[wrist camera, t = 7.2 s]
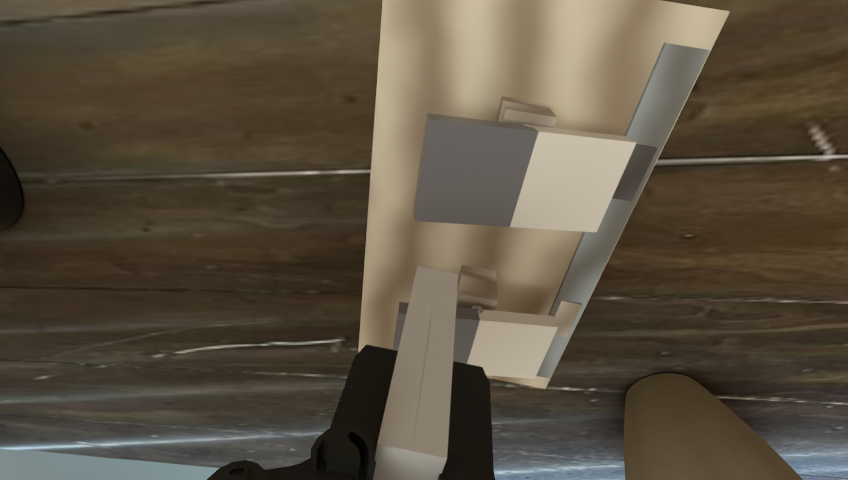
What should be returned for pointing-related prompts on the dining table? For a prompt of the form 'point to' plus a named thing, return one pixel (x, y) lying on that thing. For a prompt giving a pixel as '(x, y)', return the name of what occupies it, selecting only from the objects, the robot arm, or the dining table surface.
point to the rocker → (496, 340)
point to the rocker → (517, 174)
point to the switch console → (519, 103)
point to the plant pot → (691, 436)
